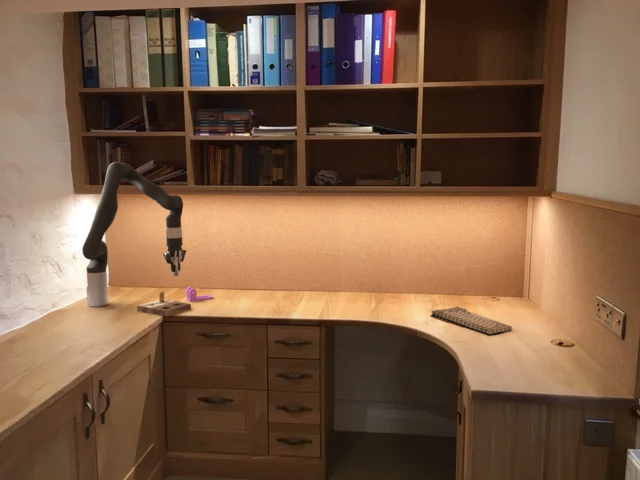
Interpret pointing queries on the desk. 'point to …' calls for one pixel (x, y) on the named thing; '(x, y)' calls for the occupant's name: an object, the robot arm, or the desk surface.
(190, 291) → the bracket
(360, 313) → the desk surface
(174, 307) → the pin board
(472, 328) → the mechanical keyboard
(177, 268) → the grey metal pin
